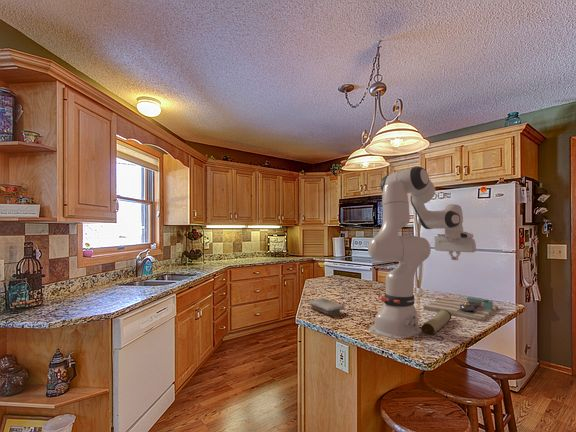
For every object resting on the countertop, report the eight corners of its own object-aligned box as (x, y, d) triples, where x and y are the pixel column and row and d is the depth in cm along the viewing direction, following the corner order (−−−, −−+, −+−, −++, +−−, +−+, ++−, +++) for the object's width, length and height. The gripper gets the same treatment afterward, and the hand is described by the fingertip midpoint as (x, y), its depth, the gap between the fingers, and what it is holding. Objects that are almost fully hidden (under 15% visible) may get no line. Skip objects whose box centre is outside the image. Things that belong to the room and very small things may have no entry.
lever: (472, 312, 144) (472, 305, 144) (458, 309, 148) (458, 303, 148) (483, 303, 159) (483, 297, 159) (470, 301, 163) (470, 295, 163)
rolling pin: (431, 340, 117) (431, 327, 117) (416, 336, 120) (416, 324, 120) (454, 320, 140) (454, 309, 140) (441, 317, 144) (441, 307, 144)
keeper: (490, 310, 148) (490, 301, 148) (466, 306, 156) (466, 297, 156) (492, 309, 150) (492, 300, 150) (468, 305, 158) (468, 296, 158)
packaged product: (323, 306, 163) (307, 309, 158) (323, 297, 163) (307, 300, 158) (345, 315, 147) (328, 318, 142) (345, 305, 147) (328, 308, 142)
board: (482, 321, 138) (482, 317, 138) (423, 309, 156) (423, 306, 156) (497, 308, 158) (497, 305, 158) (444, 299, 176) (444, 296, 176)
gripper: (432, 234, 171) (432, 259, 170) (472, 234, 156) (473, 261, 155) (436, 234, 175) (437, 258, 175) (476, 234, 160) (477, 261, 159)
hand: (454, 260), depth 165 cm, fingers closed
